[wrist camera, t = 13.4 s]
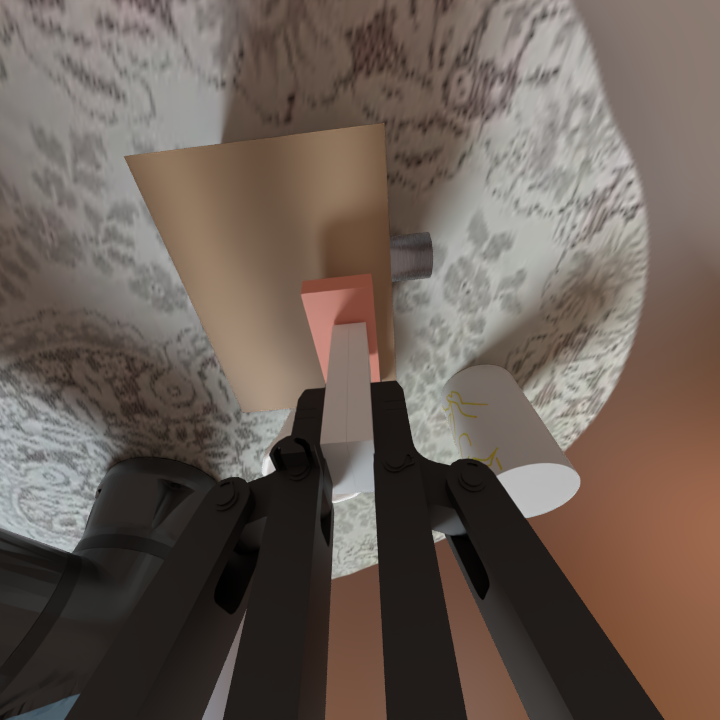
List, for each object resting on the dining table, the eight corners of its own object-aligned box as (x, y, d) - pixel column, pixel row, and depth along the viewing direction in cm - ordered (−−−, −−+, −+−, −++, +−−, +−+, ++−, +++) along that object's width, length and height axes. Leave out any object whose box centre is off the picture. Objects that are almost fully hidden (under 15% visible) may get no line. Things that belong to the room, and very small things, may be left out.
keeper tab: (330, 391, 19) (329, 412, 18) (300, 281, 14) (296, 302, 12) (381, 386, 19) (384, 407, 18) (373, 273, 13) (376, 294, 12)
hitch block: (275, 327, 29) (242, 412, 20) (220, 146, 21) (123, 156, 12) (382, 315, 29) (396, 398, 20) (369, 127, 20) (384, 122, 11)
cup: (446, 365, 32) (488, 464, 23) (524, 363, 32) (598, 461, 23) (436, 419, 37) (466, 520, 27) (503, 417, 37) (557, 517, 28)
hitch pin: (232, 299, 24) (207, 334, 20) (205, 229, 21) (170, 252, 17) (420, 278, 24) (435, 310, 19) (421, 203, 21) (439, 221, 16)
